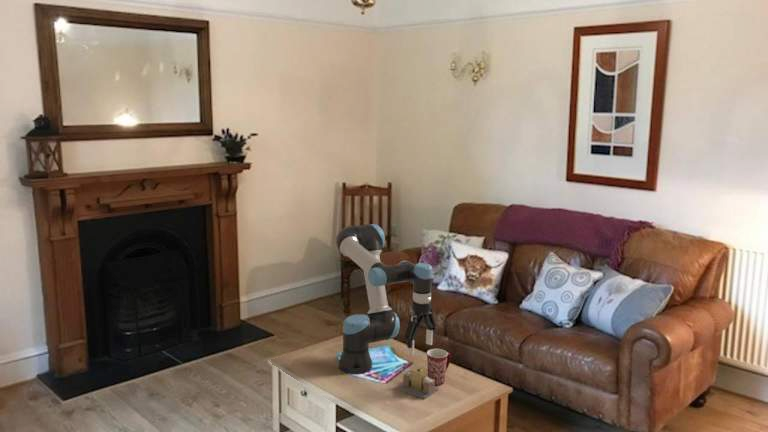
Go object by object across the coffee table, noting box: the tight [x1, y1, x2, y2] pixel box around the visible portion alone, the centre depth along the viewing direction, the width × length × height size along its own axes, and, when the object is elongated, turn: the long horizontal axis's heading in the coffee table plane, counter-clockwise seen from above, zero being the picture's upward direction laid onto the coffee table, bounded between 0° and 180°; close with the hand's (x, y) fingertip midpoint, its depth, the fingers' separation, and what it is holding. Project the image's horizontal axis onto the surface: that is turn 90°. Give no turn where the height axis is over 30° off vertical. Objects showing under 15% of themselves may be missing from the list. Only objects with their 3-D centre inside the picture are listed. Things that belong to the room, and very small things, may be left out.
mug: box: [426, 348, 452, 386], centre depth 277 cm, size 13×9×14 cm
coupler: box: [411, 366, 428, 392], centre depth 268 cm, size 5×4×8 cm
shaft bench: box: [398, 370, 439, 400], centre depth 269 cm, size 13×10×7 cm
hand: (420, 349), depth 265 cm, fingers open, 13 cm apart
